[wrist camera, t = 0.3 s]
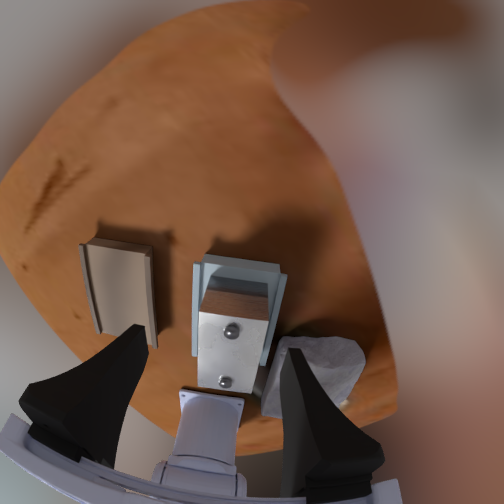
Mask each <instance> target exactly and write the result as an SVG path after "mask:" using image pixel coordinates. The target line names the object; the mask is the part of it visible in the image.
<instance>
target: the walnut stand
mask: <svg viewBox="0 0 504 504" xmlns="http://www.w3.org/2000/svg"><path fill="white" fill-rule="evenodd" d="M78 246H79V253H80V260H81V266H82V272H83V277H84V283H85V288H86V293H87V297H88V302H89V306H90V310H91V315H92V319H93V322H94V326H95V330H96V333H97V334H101V333H102V332H104V333H107V334H111V335H114V336H118V337H119V336H120V335H121V334H122V333H123V332H124V331H126V330H127V329H128V328H129V327H130V326H132V325H133V324H138V325H143V326H145V331H146V338H147V344H151V345H152V348H155V349H157V348H158V339H157V336H158V331H157V320H156V309H155V295H154V277H153V248H152V246H148V245H141V244H134V243H127V242H121V241H114V240H108V239H101V238H92V239H91V240H90V241H88V242H87V243H86V244H82V243H81V244H79V245H78Z"/></svg>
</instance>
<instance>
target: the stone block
mask: <svg viewBox="0 0 504 504" xmlns="http://www.w3.org/2000/svg"><path fill="white" fill-rule="evenodd" d="M288 347H289V348H300V349H301V350H302V352H303V354H304V356H305V358H306V360H307V362H308V364H309V366H310V368H311V370H312V371H313V373H314V375H315V376H316V378H317V380H318V381H319V383H320V385H321V386H322V388H323V389H324V391H325V392H326V393H327V395H328V396H329V398H330V399H331V400H332V401H333V403H334V404H335V405H336V406H337V407H338V408H339V406H340V404H341V402H343V401H344V400H345V399H346V398H347V396H348V395H349V394H350V392H351V390H352V388H353V386H354V384H355V383H356V381H357V380H358V378H359V376H360V373H361V372H362V370H363V368H364V366H365V364H366V360H365V355H364V353H363V351H362V349H361V348H360V347H359V345H358V344H357V343H356V341H354V340H350V339H345V338H342V337H337V336H335V337H320V338H311V337H305V336H302V337H289V336H283V337H282V338H281V339H280V341H279V343H278V345H277V349H276V353H275V356H274V359H273V363H272V366H271V369H270V372H269V375H268V378H267V382H266V386H265V388H264V391H263V394H262V398H261V415H263V416H270V417H275V418H281V419H282V411H281V401H280V391H279V387H280V371H281V368H282V365H283V362H284V359H285V356H286V353H287V349H288Z"/></svg>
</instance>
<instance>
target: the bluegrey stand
mask: <svg viewBox="0 0 504 504" xmlns="http://www.w3.org/2000/svg"><path fill="white" fill-rule="evenodd" d="M211 275H212V276H219V277H226V278H233V279H240V280H247V281H254V282H262V283H268V310H269V323H268V327H267V331H266V336H265V340H264V344H263V348H262V353H261V357H260V361H259V362H260V366H265V365H266V361H267V357H268V353H269V350H270V346H271V342H272V338H273V334H274V330H275V326H276V322H277V318H278V314H279V310H280V306H281V302H282V298H283V293H284V289H285V285H286V281H287V274H281V273H280V265H279V264H274V263H267V262H260V261H253V260H245V259H238V258H231V257H224V256H217V255H210V254H205V255H204V257H203V259H202V261H201V262H196V261H195V262H194V264H193V293H192V356H195V357H197V355H198V323H199V310H200V306H201V303H202V300H203V297H204V294H205V291H206V288H207V285H208V282H209V279H210V276H211Z"/></svg>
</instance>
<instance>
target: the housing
mask: <svg viewBox="0 0 504 504" xmlns="http://www.w3.org/2000/svg"><path fill="white" fill-rule="evenodd" d="M268 323H269V310H268V283H262V282H254V281H247V280H240V279H233V278H226V277H219V276H212V275H211V276H210V279H209V282H208V285H207V288H206V291H205V294H204V297H203V300H202V303H201V306H200V310H199V323H198V386H201V387H206V388H213V389H220V390H227V391H234V392H243V393H252V389H253V385H254V381H255V377H256V373H257V369H258V365H259V361H260V357H261V353H262V348H263V344H264V340H265V336H266V331H267V327H268Z"/></svg>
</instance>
